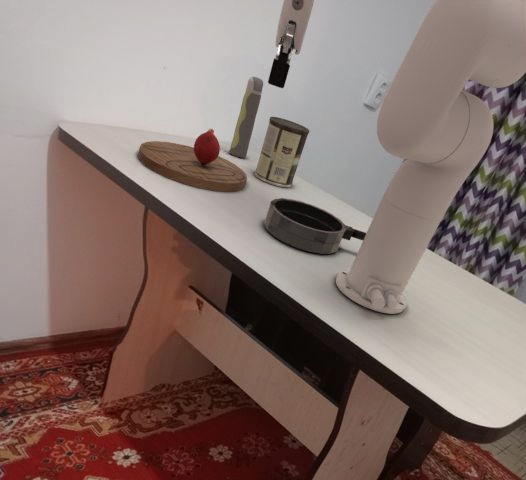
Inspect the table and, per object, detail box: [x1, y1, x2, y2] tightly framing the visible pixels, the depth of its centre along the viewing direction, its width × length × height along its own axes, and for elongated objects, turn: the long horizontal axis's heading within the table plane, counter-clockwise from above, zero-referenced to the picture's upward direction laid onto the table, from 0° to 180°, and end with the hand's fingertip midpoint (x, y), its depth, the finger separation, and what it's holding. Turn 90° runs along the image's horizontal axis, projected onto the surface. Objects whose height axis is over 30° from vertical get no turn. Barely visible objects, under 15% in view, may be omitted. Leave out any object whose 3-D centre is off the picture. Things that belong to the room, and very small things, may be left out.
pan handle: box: [342, 224, 367, 242], centre depth 92 cm, size 2×12×2 cm, turn 87°
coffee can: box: [254, 116, 310, 188], centre depth 117 cm, size 10×10×14 cm
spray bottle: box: [229, 76, 264, 159], centre depth 126 cm, size 5×5×20 cm
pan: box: [263, 197, 347, 255], centre depth 91 cm, size 16×16×4 cm
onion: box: [193, 128, 221, 165], centre depth 103 cm, size 6×6×8 cm
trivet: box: [137, 140, 248, 193], centre depth 107 cm, size 25×25×2 cm
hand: (275, 84), depth 92 cm, fingers open, 9 cm apart
